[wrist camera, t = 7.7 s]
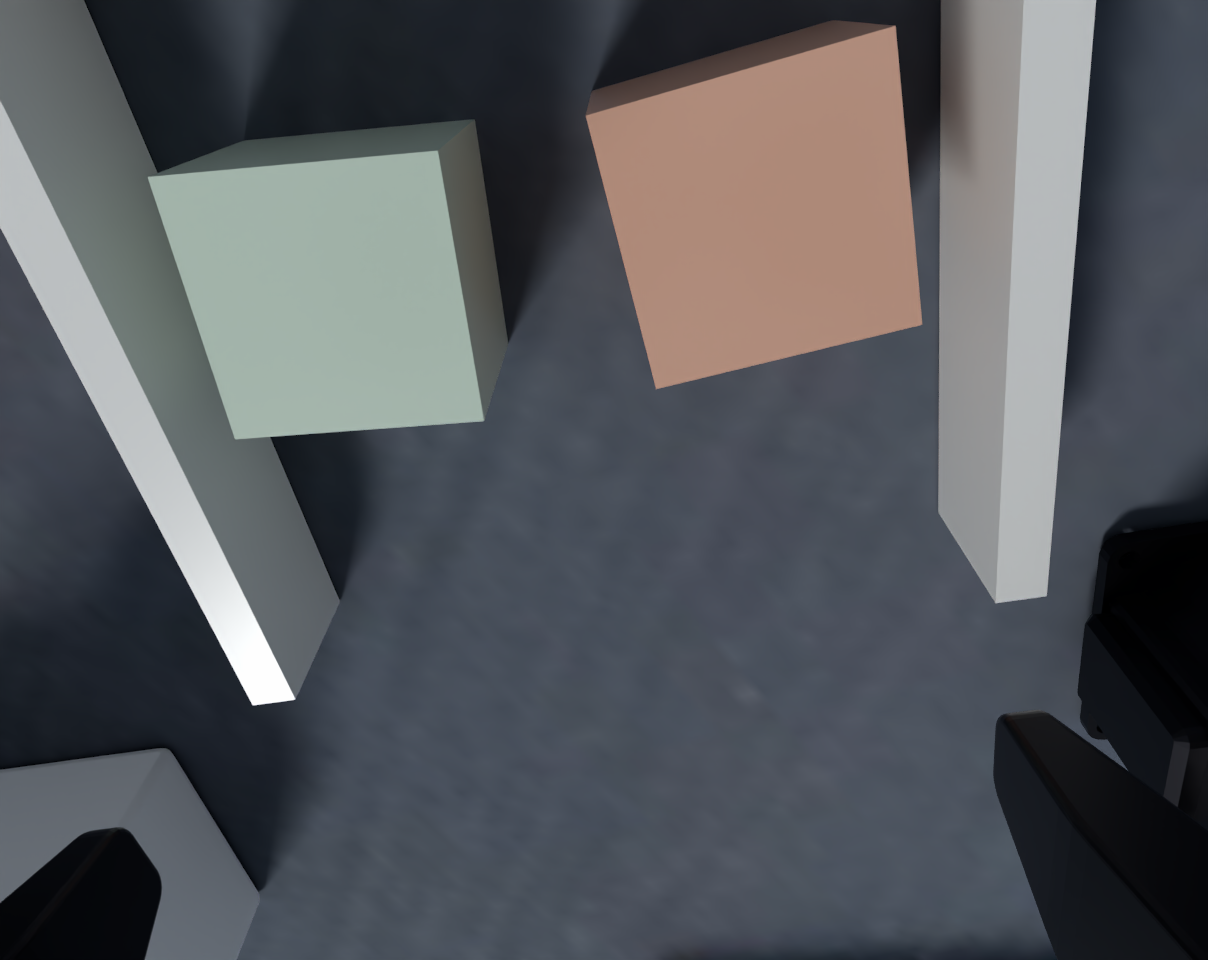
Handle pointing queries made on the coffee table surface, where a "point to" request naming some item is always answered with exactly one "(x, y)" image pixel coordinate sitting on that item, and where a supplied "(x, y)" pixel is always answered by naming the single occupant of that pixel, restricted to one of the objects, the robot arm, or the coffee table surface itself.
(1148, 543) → the robot arm
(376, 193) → the pale green cube
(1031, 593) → the box
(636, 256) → the salmon pink cube
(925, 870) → the coffee table surface
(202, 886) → the medicine bottle
